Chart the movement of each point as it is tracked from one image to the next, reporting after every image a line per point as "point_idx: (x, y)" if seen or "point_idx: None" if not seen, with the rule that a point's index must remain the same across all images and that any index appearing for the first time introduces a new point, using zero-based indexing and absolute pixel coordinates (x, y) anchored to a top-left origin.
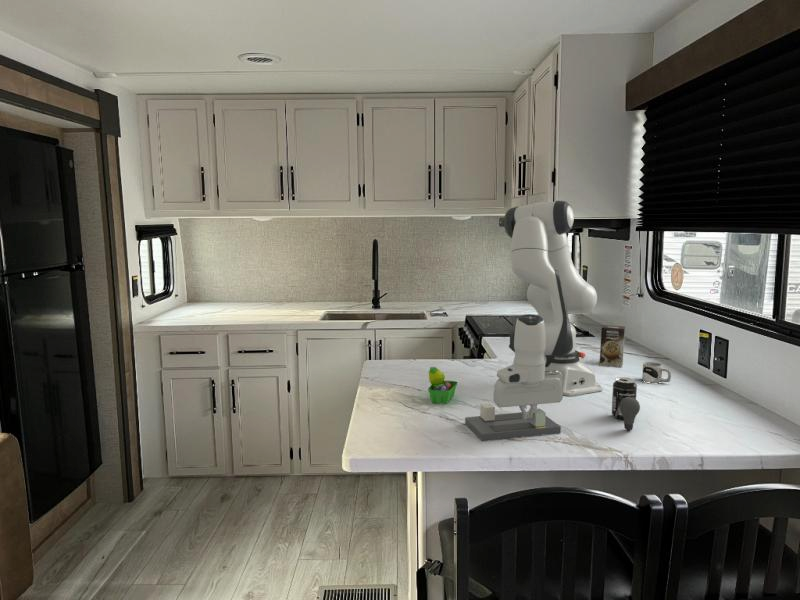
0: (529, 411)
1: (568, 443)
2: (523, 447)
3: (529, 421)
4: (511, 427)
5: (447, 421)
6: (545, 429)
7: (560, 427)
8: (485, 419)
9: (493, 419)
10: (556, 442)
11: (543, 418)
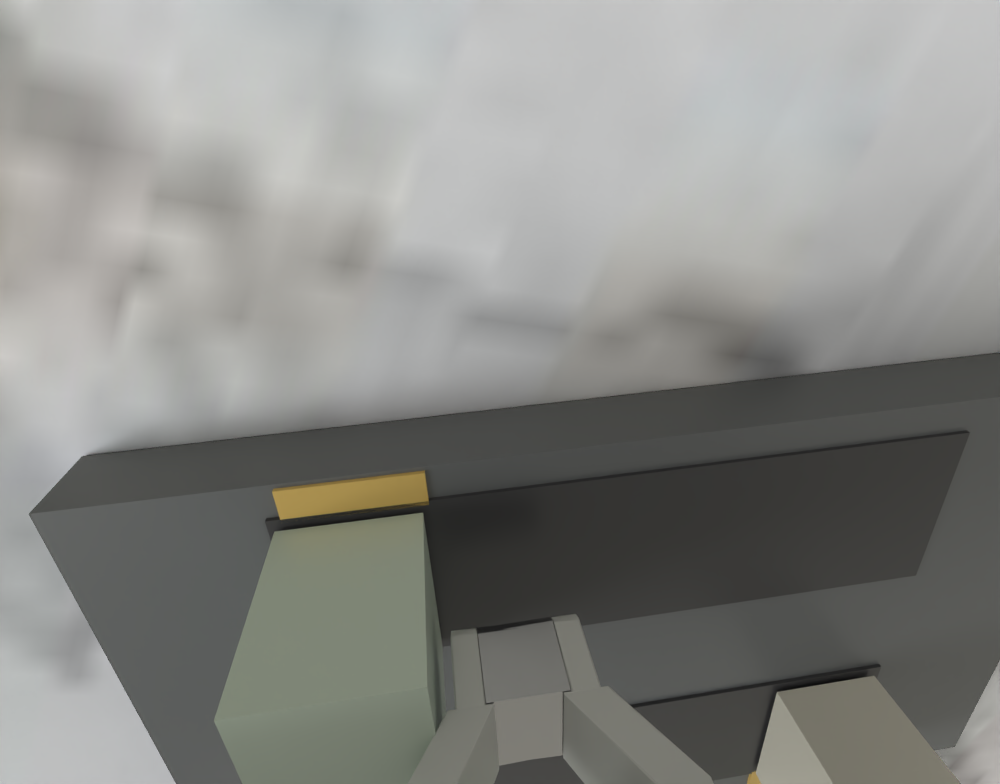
0: (491, 765)
1: (11, 73)
2: (759, 65)
3: (442, 651)
4: (719, 526)
5: (988, 726)
6: (290, 470)
7: (42, 502)
8: (884, 691)
9: (796, 697)
10: (214, 156)
11: (283, 618)
